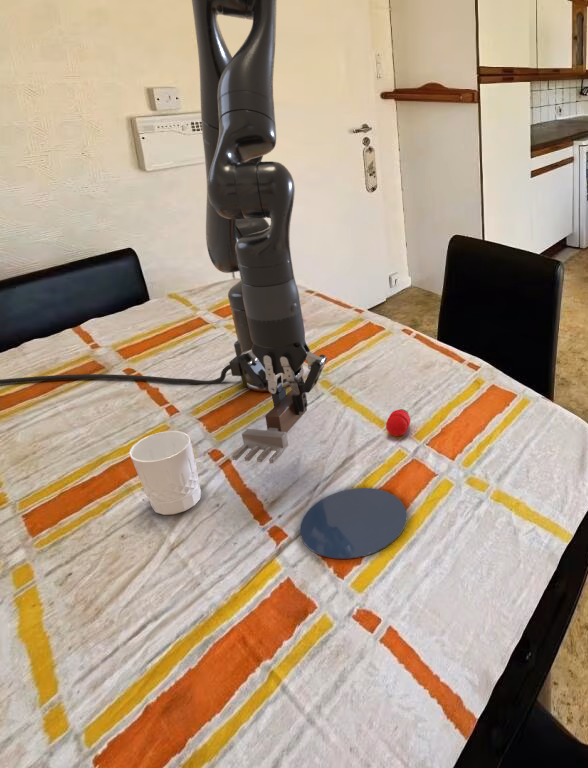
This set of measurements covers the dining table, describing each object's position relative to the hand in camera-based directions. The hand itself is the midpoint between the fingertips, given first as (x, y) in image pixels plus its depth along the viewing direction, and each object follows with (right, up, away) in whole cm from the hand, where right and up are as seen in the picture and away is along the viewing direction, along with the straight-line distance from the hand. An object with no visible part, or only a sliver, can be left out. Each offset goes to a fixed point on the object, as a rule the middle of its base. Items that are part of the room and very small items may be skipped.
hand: (291, 411), depth 97 cm
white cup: (-16, -13, -3) cm, 21 cm away
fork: (-1, -3, -4) cm, 5 cm away
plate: (+12, -16, -8) cm, 21 cm away
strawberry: (+15, -4, +13) cm, 20 cm away
